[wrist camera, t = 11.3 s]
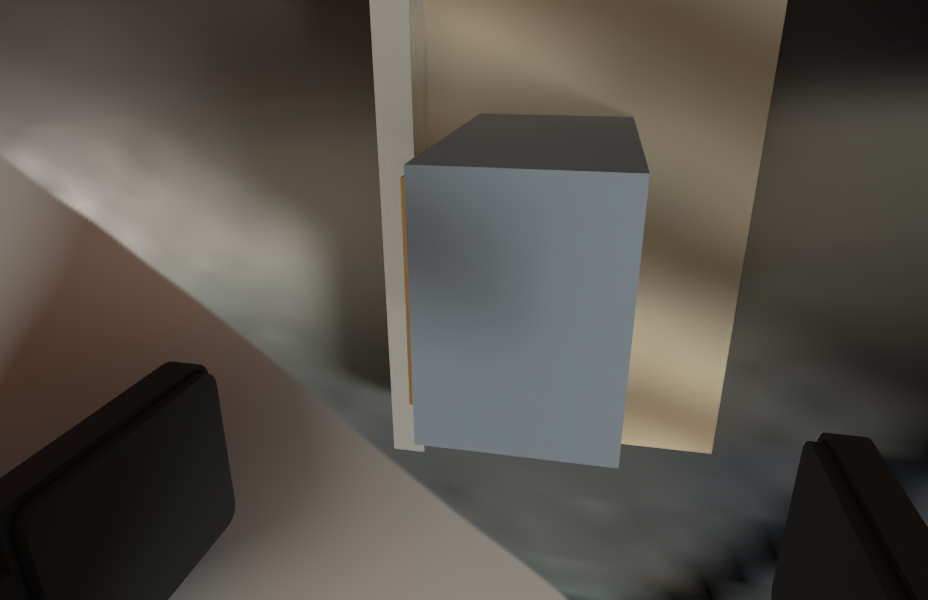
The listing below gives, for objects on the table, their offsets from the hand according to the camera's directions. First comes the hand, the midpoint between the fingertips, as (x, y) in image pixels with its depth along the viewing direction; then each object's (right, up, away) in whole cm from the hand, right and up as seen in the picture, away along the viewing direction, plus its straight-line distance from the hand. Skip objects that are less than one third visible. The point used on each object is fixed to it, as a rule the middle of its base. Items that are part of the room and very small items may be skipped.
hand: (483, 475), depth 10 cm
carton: (+3, +6, +12) cm, 14 cm away
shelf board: (+4, +5, +14) cm, 15 cm away
